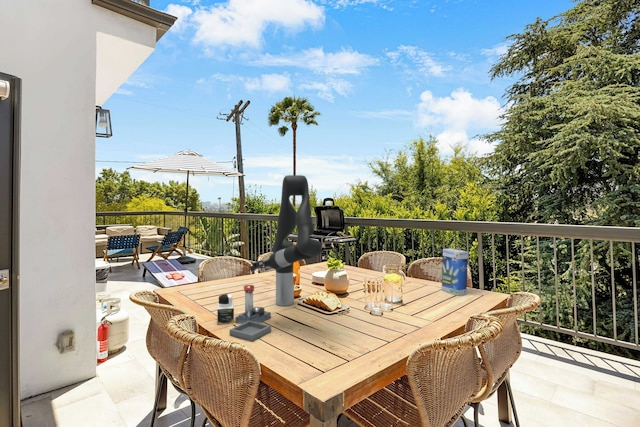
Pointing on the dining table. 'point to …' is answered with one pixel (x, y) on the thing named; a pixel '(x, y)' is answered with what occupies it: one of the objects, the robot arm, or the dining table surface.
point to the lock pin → (249, 300)
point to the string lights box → (454, 271)
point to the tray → (250, 330)
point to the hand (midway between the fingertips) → (258, 268)
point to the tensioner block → (254, 316)
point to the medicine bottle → (225, 309)
